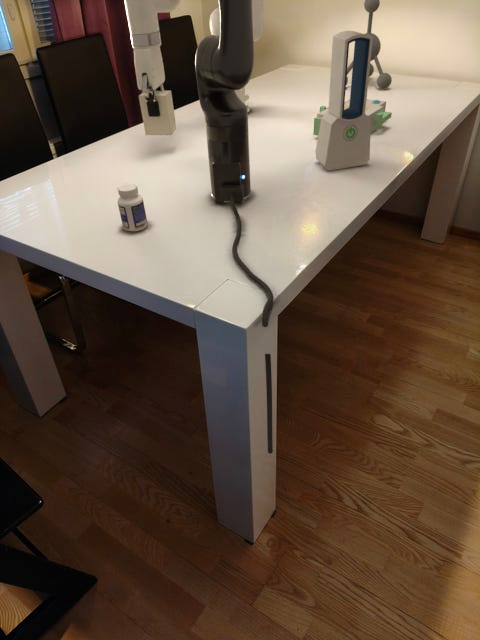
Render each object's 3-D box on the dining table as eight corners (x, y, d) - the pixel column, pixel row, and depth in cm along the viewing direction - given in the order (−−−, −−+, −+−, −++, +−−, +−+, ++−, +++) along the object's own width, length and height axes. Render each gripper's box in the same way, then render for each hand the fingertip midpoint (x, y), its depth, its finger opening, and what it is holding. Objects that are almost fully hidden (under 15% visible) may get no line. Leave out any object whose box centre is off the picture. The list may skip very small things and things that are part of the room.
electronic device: (325, 171, 125) (333, 37, 106) (314, 161, 130) (320, 32, 112) (369, 164, 127) (385, 32, 108) (356, 155, 133) (369, 28, 114)
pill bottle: (149, 220, 107) (142, 181, 102) (146, 231, 103) (138, 191, 98) (125, 221, 107) (116, 182, 102) (121, 232, 103) (112, 193, 98)
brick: (151, 129, 143) (144, 90, 136) (176, 129, 142) (171, 90, 135) (145, 135, 139) (138, 95, 133) (171, 135, 138) (165, 95, 131)
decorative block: (340, 93, 160) (399, 100, 150) (339, 114, 164) (396, 122, 154) (301, 113, 144) (364, 122, 134) (300, 136, 148) (362, 146, 138)
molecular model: (320, 82, 200) (324, -5, 182) (368, 76, 205) (377, -10, 186) (347, 95, 182) (354, 0, 164) (399, 88, 187) (412, -5, 168)
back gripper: (143, 34, 133) (155, 104, 144) (120, 47, 120) (134, 123, 132) (169, 33, 131) (179, 104, 143) (148, 46, 119) (161, 123, 130)
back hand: (157, 112), depth 137 cm, fingers closed on brick, 5 cm apart
